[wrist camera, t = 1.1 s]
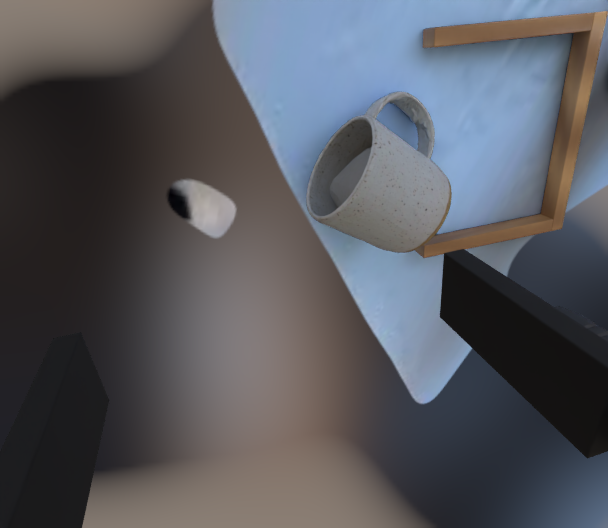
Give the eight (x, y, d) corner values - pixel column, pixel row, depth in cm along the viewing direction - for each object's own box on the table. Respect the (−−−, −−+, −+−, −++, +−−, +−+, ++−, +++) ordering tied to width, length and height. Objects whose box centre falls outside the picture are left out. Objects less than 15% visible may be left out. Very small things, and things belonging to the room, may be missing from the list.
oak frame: (422, 29, 29) (435, 27, 28) (589, 13, 32) (608, 11, 30) (414, 250, 37) (423, 258, 36) (548, 223, 40) (562, 229, 38)
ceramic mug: (376, 238, 35) (423, 277, 29) (294, 200, 32) (325, 234, 25) (443, 122, 33) (512, 135, 26) (362, 67, 29) (417, 66, 22)
